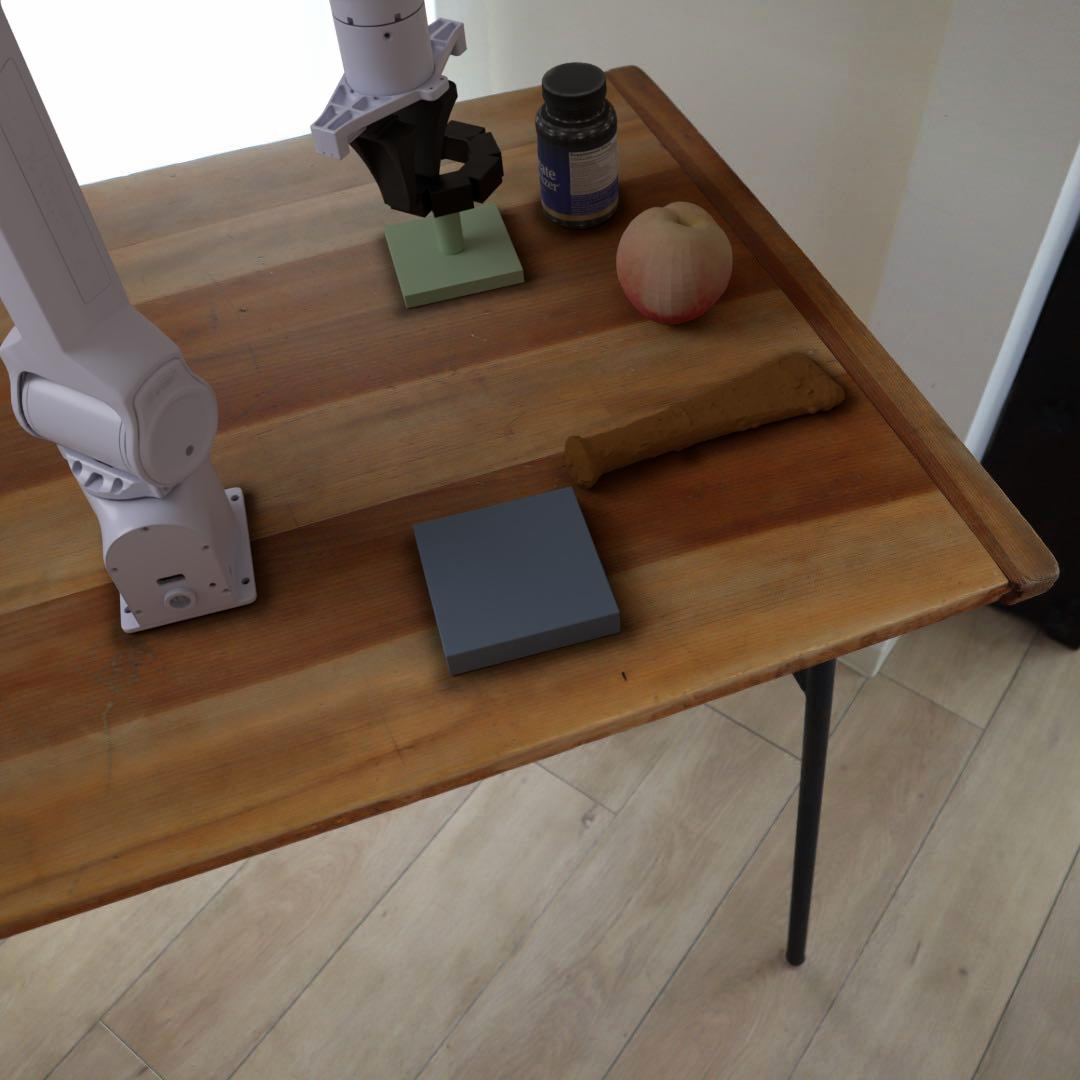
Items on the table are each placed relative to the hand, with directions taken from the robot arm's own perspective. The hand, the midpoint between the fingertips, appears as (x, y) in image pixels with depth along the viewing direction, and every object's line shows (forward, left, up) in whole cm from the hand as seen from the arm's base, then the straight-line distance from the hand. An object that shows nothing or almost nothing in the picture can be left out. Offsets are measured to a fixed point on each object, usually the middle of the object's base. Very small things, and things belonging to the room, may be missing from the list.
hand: (412, 195), depth 82 cm
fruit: (-9, -16, -8) cm, 20 cm away
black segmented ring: (+2, -2, -1) cm, 3 cm away
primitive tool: (-21, -14, -8) cm, 26 cm away
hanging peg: (+2, -2, -8) cm, 9 cm away
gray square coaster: (-30, +1, -8) cm, 31 cm away
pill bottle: (+5, -13, -8) cm, 17 cm away
